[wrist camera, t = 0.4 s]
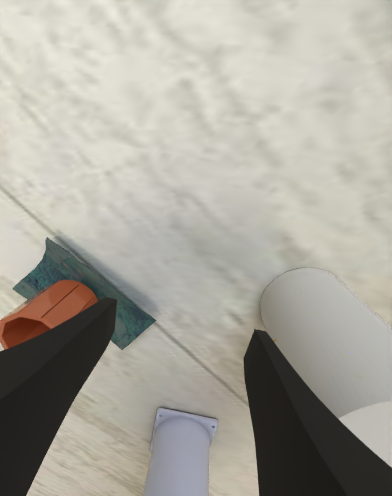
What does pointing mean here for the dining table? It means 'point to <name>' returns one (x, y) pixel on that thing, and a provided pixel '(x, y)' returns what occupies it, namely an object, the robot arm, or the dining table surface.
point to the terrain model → (68, 268)
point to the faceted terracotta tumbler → (45, 311)
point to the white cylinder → (335, 350)
